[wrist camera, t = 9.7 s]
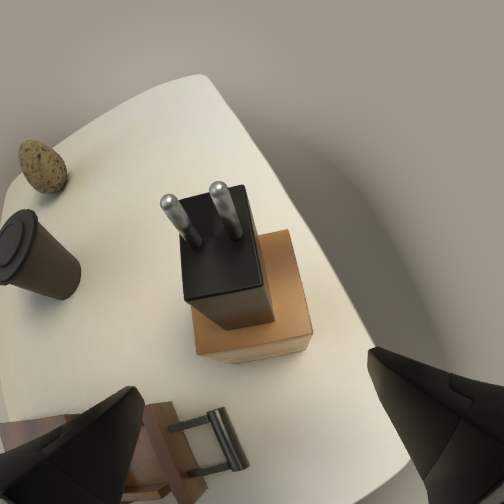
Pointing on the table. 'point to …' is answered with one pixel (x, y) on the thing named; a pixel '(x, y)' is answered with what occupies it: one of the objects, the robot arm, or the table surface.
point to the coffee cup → (36, 258)
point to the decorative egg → (42, 167)
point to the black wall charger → (221, 257)
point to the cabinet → (32, 431)
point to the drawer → (177, 455)
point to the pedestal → (270, 334)
